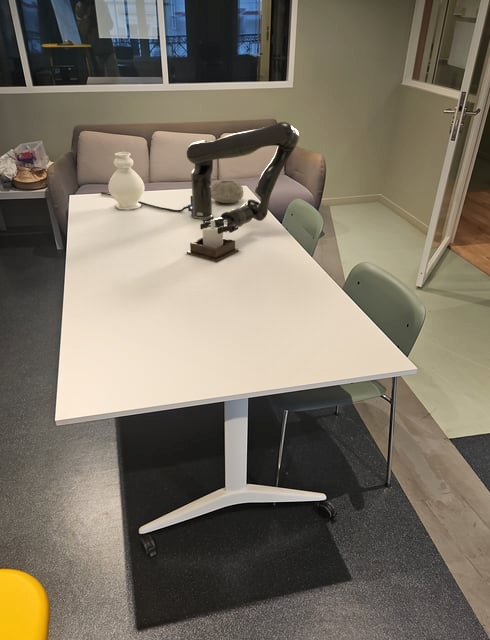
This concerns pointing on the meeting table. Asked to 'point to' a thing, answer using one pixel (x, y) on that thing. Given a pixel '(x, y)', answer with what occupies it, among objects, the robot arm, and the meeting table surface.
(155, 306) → the meeting table surface
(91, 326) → the meeting table surface
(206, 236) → the perfume bottle
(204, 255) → the bottle stand
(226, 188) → the decorative shell
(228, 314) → the meeting table surface
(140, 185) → the decorative vase
